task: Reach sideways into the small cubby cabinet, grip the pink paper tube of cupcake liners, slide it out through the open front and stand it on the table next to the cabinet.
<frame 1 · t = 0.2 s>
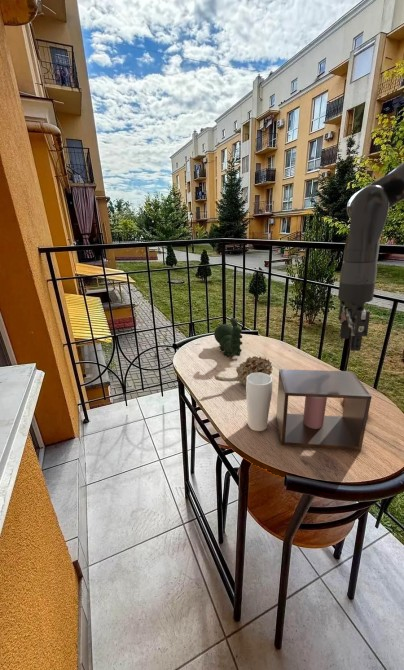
hand: (349, 343, 72), 23 cm above the table, tool pointing down, fingers open, 8 cm apart
liner tube: (313, 422, 77), point 1 cm above the table, touching cubby cabinet
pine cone: (243, 386, 98), on the table
popsicle: (353, 406, 85), on the table
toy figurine: (228, 351, 127), on the table
drinking glass: (257, 426, 78), on the table
cubby cabinet: (314, 431, 75), on the table
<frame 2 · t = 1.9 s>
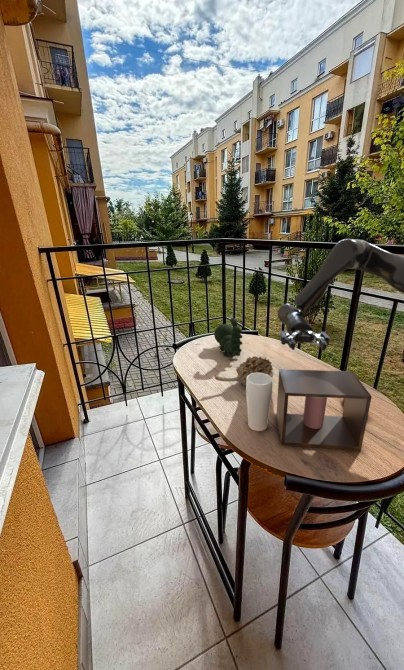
hand: (308, 347, 82), 18 cm above the table, tool horizontal, fingers open, 8 cm apart
nothing on the table moved.
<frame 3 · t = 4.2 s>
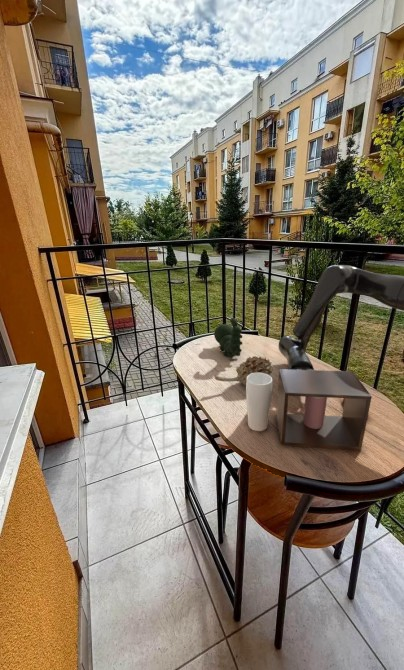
hand: (309, 389, 81), 7 cm above the table, tool horizontal, fingers open, 8 cm apart
nothing on the table moved.
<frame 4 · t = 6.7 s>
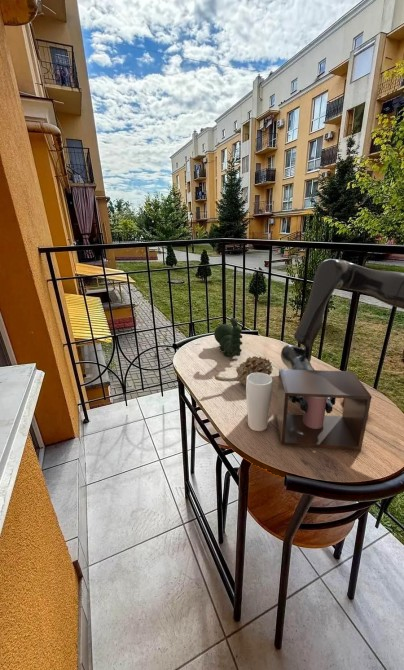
hand: (317, 409, 72), 7 cm above the table, tool horizontal, fingers closed on liner tube, 5 cm apart
liner tube: (313, 422, 77), point 1 cm above the table, touching cubby cabinet, gripper
everything else where it was.
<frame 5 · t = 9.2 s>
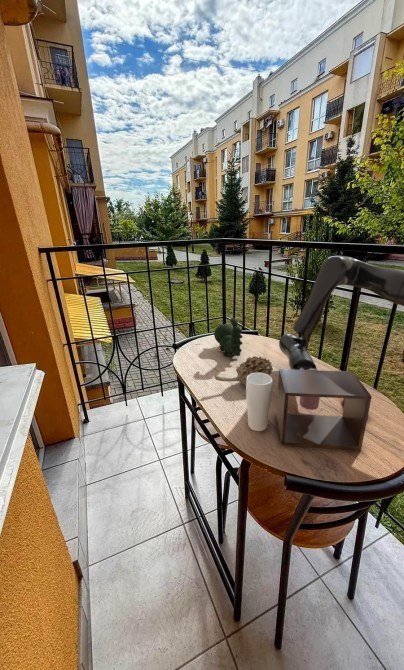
hand: (313, 391, 77), 9 cm above the table, tool horizontal, fingers closed on liner tube, 5 cm apart
liner tube: (308, 404, 81), point 3 cm above the table, touching gripper
everything else where it was.
when the fingers open (6 cm above the table, at t = 11.6 s): liner tube stays where it is, on the table.
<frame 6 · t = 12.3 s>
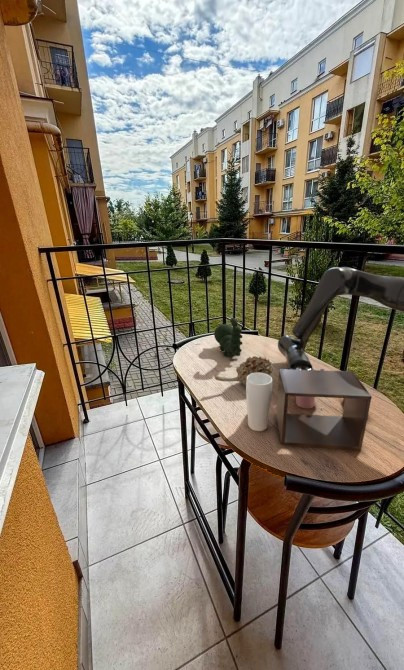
hand: (308, 388, 83), 7 cm above the table, tool horizontal, fingers open, 8 cm apart
liner tube: (304, 403, 87), on the table
everything else where it was.
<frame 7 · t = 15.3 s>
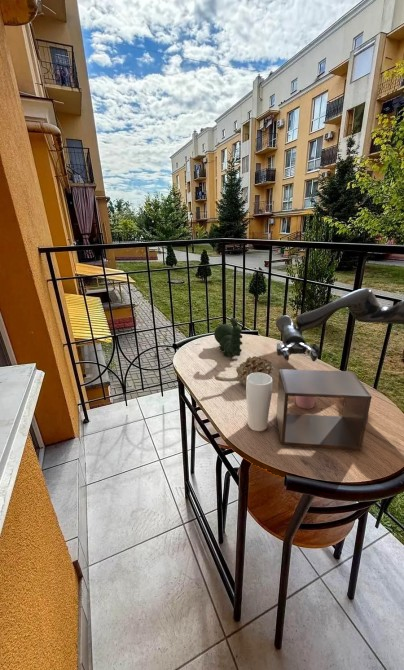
hand: (301, 358, 93), 10 cm above the table, tool horizontal, fingers open, 8 cm apart
nothing on the table moved.
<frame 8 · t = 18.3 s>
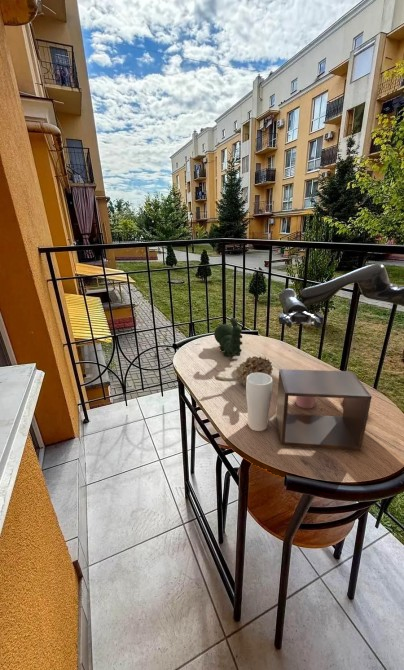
hand: (304, 325, 90), 22 cm above the table, tool horizontal, fingers open, 8 cm apart
nothing on the table moved.
at the end: liner tube inside the target area (0.1 cm from its centre), on the table; liner tube tilted 0°; liner tube touching table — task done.
